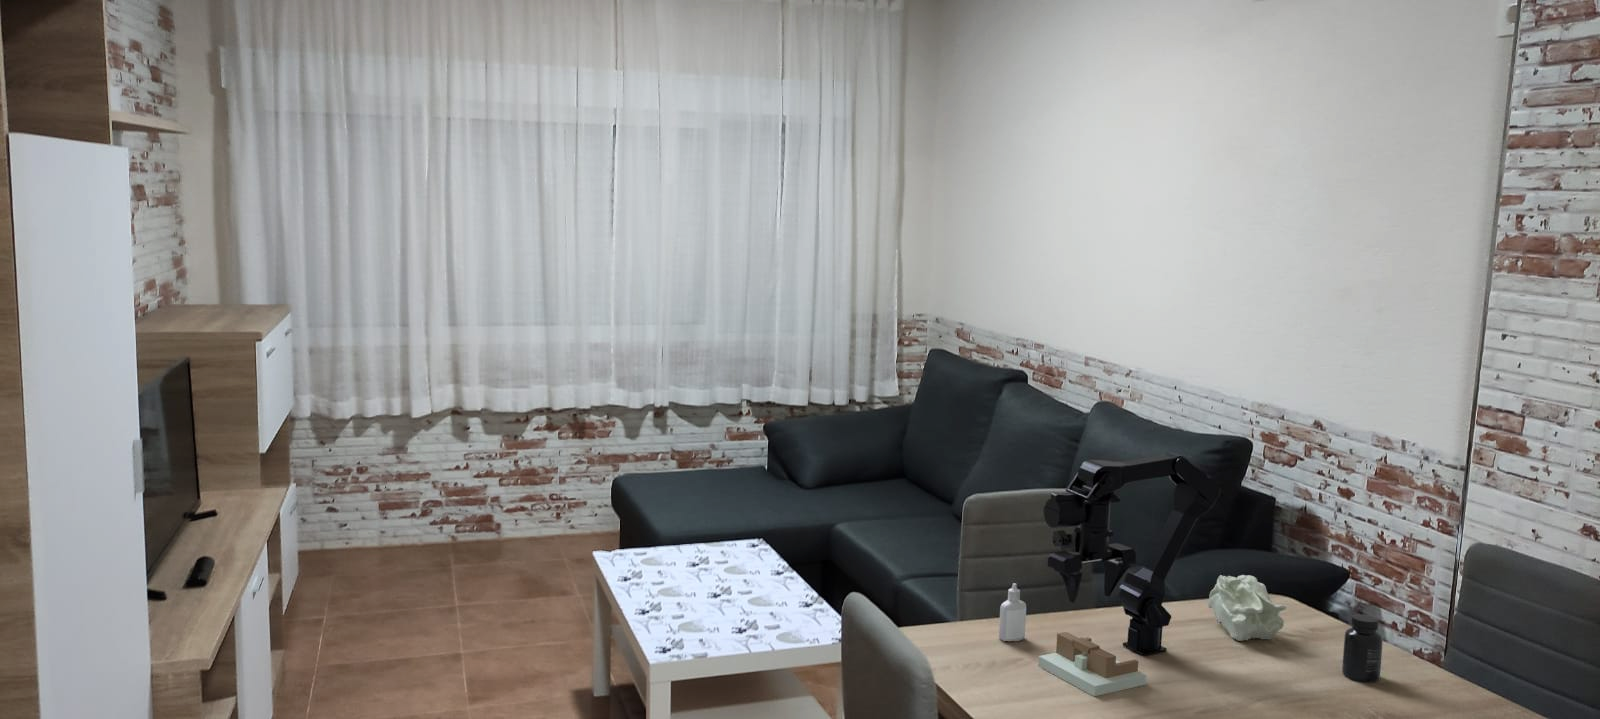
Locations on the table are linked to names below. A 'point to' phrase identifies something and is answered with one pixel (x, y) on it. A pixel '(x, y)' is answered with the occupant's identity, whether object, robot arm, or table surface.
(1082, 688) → the stand
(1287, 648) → the table surface
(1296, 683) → the table surface
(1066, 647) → the brown c-shaped bracket
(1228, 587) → the folded clay sculpture
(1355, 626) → the supplement bottle
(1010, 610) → the eye dropper bottle
